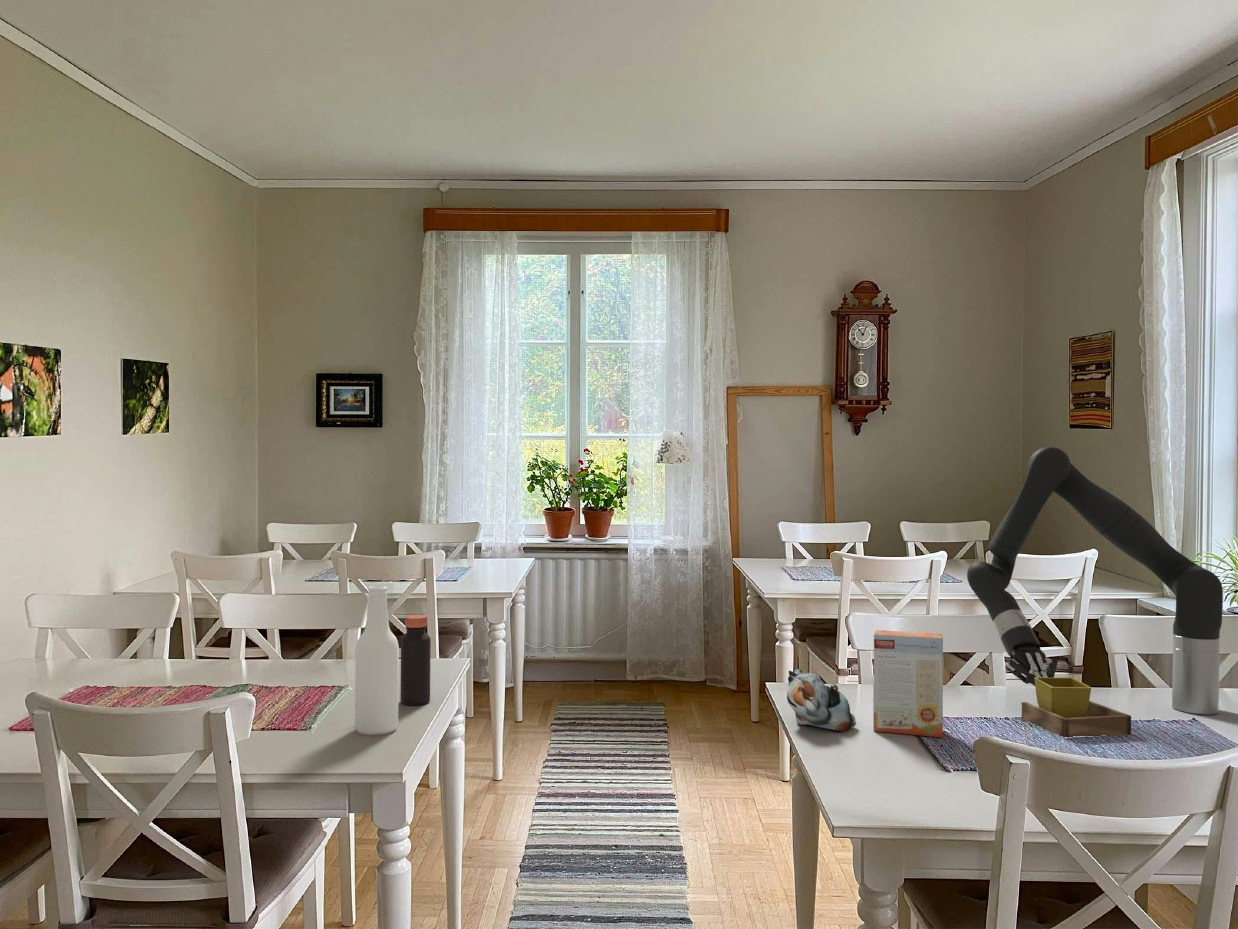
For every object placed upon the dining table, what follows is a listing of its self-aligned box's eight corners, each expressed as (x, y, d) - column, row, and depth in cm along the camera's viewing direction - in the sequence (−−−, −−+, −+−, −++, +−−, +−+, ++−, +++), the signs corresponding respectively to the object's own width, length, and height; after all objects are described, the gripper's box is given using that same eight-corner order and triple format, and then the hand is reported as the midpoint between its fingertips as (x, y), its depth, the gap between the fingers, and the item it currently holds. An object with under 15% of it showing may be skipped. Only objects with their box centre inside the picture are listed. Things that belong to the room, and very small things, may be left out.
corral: (1021, 720, 205) (1021, 702, 205) (1084, 716, 209) (1084, 699, 209) (1064, 739, 192) (1065, 719, 192) (1131, 734, 195) (1131, 715, 195)
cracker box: (942, 731, 197) (943, 632, 196) (942, 739, 191) (943, 637, 191) (874, 724, 201) (875, 628, 201) (872, 732, 195) (873, 633, 195)
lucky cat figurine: (862, 733, 194) (840, 680, 190) (808, 754, 195) (785, 701, 191) (844, 695, 208) (823, 645, 204) (794, 715, 209) (772, 664, 205)
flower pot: (1091, 728, 199) (1092, 687, 199) (1051, 728, 199) (1052, 686, 199) (1071, 717, 208) (1072, 677, 208) (1032, 717, 208) (1033, 677, 208)
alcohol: (384, 721, 200) (385, 582, 200) (406, 730, 193) (407, 587, 193) (346, 729, 194) (348, 586, 193) (368, 738, 187) (369, 591, 187)
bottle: (426, 706, 212) (427, 619, 212) (397, 706, 212) (397, 619, 212) (432, 698, 219) (433, 614, 219) (404, 698, 219) (405, 614, 219)
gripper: (997, 625, 216) (1030, 690, 204) (1047, 623, 219) (1082, 688, 207) (984, 643, 221) (1015, 707, 209) (1032, 641, 224) (1066, 705, 212)
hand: (1048, 698), depth 208 cm, fingers closed
